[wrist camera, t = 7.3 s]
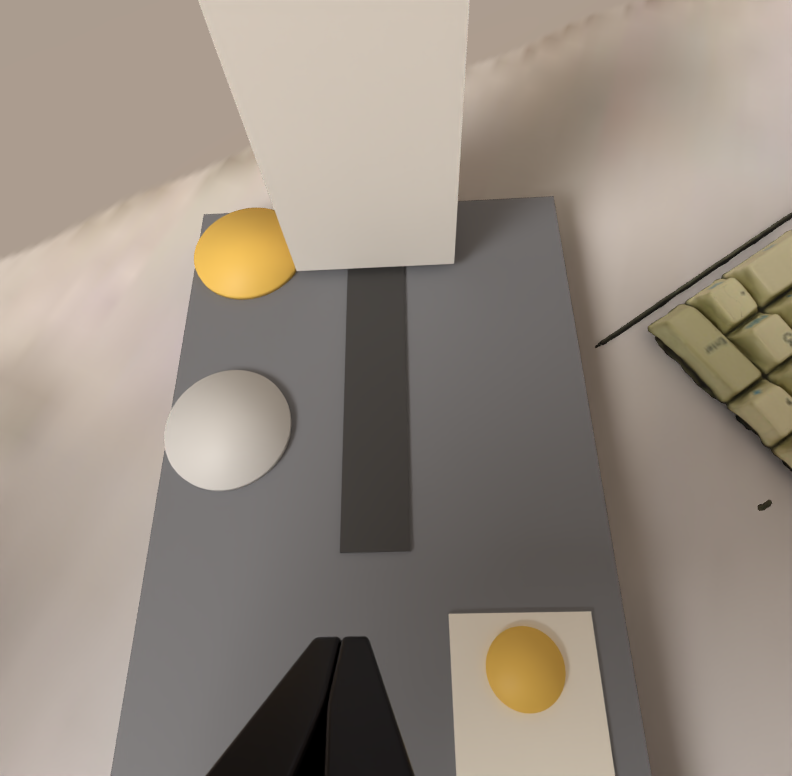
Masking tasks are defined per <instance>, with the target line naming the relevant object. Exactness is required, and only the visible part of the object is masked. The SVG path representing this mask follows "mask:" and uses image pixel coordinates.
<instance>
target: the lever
mask: <svg viewBox="0 0 792 776" xmlns="http://www.w3.org/2000/svg"><path fill="white" fill-rule="evenodd" d="M198 2H199V4H200V7H201V10H202V12H203V15H204V18H205V21H206V23H207V26H208V29H209V32H210V34H211V37H212V40H213V43H214V45H215V48H216V51H217V53H218V56H219V59H220V62H221V65H222V67H223V70H224V73H225V76H226V78H227V81H228V84H229V87H230V89H231V92H232V95H233V98H234V100H235V103H236V106H237V108H238V111H239V114H240V117H241V120H242V122H243V125H244V128H245V131H246V133H247V136H248V139H249V142H250V144H251V147H252V150H253V153H254V155H255V158H256V161H257V164H258V166H259V169H260V172H261V175H262V177H263V180H264V183H265V186H266V188H267V191H268V194H269V197H270V199H271V202H272V205H273V207H274V210H275V213H276V216H277V218H278V221H279V224H280V227H281V229H282V232H283V235H284V238H285V240H286V243H287V246H288V249H289V251H290V254H291V257H292V260H293V262H294V265H295V268H296V271H310V270H331V269H353V268H374V267H396V266H417V265H439V264H454V257H455V239H456V222H457V205H458V188H459V171H460V154H461V137H462V120H463V103H464V85H465V68H466V51H467V33H468V17H469V0H198Z"/></svg>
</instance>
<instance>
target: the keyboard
mask: <svg viewBox="0 0 792 776" xmlns="http://www.w3.org/2000/svg"><path fill="white" fill-rule="evenodd" d="M791 218H792V213H790V214H788V215H787V216H785V217H783V218H782V219H781V220H779V221H777V222H776V223H775V224H773V225H772V226H771V227H769V228H767V229H766V230H764V231H762V232H761V233H760V234H758V235H757V236H755V237H754V238H752V239H751V240H749V241H748V242H746V243H745V244H744V245H742V246H741V247H739V248H737V249H736V250H734V251H733V252H732V253H730V254H729V255H727V256H726V257H724V258H723V259H721V260H720V261H718V262H717V263H715V264H714V265H712V266H711V267H709V268H708V269H706V270H705V271H704V272H702V273H701V274H699V275H698V276H696V277H695V278H693V279H692V280H691V281H689V282H687V283H686V284H684V285H683V286H681V287H680V288H678V289H677V290H676V291H674V292H673V293H671V294H670V295H668V296H666V297H665V298H664V299H662V300H660V301H659V302H658V303H656V304H655V305H653V306H652V307H651V308H649V309H648V310H646V311H645V312H643V313H642V314H640V315H639V316H637V317H636V318H635V319H633V320H632V321H630V322H629V323H627V324H626V325H624V326H623V327H621V328H620V329H619V330H617V331H616V332H614V333H613V334H611V335H610V336H608V337H607V338H606V339H604V340H602V341H601V342H600V343H598V345H599V346H600V345H601V344H602V345H604V344H606V343H607V342H608V341H610V340H612V339H613V338H615V337H617V336H618V335H620V334H621V333H623V332H624V331H626V330H627V329H629V328H630V327H632V326H633V325H634V324H636V323H637V322H639V321H640V320H642V319H643V318H645V317H646V316H648V315H649V314H651V313H652V312H654V311H655V310H657V309H658V308H660V307H662V306H663V305H665V304H666V303H667V302H668V301H669V300H671V299H672V298H673V297H675V296H676V295H678V294H679V293H681V292H683V291H684V290H686V289H688V288H689V287H691V286H692V285H694V284H695V283H696V282H698V281H699V280H701V279H702V278H703V277H705V276H707V275H708V274H709V273H711V272H712V271H714V270H715V269H717V268H718V267H720V266H721V265H723V264H725V263H727V262H728V261H729V260H730V259H732V258H733V257H734V256H736V255H737V254H739V253H740V252H741V251H743V250H745V249H746V248H748V247H750V246H751V245H753V244H755V243H756V242H758V241H759V240H760V239H761V238H763V237H765V236H766V235H768V234H769V233H770V232H772V231H773V230H774V229H776V228H777V227H779V226H781V225H782V224H783V223H785V222H786V221H788V220H790V219H791ZM648 331H649V332H650V333H652V334H653V335H655V340H656V342H657V343H658V345H659V346H660V347H661V348H662V349H663V350H664V351H665V353H666V354H667V355H669V356H670V357H671V358H672V359H674V360H676V361H677V362H678V363H679V364H680V365H681V367H682V368H683V369H684V371H685V372H686V373H687V374H688V375H689V376H690V377H691V378H692V379H693V380H694V381H695V383H696V384H697V385H698V386H699V387H701V388H702V389H703V390H705V391H706V392H707V393H708V394H709V395H710V396H711V397H712V398H714V399H717V400H718V401H720V402H721V403H726V404H727V408H728V409H729V410H730V411H732V412H733V413H735V414H736V419H737V421H739V422H740V423H742V424H743V425H744V426H745V428H746V429H748V430H752V431H753V432H754V433H755V434H756V435H758V436H759V437H760V439H761V442H762V444H763V445H764V446H765V447H767V448H769V449H770V450H771V451H772V452H773V454H774V455H775V456H777V457H779V458H780V459H782V462H783V463H784V465H785V466H787V467H788V468H789V469H790V470H791V471H792V230H790V231H787V232H785V233H784V234H783V235H782V236H780V237H779V238H778V239H776V240H775V241H773V242H772V243H770V244H769V245H767V246H766V247H765V248H763V249H762V250H760V251H759V252H757V253H756V254H754V255H752V256H751V257H750V258H749V259H747V260H745V261H744V262H742V263H741V264H740V265H738V266H737V267H735V268H733V269H732V270H731V271H729V272H727V273H725V274H723V275H722V277H721V279H717V280H715V281H714V282H713V283H712V284H711V285H710V286H708V287H707V288H705V289H703V290H702V291H700V292H699V293H698V294H696V295H695V296H694V297H692V298H690V299H688V300H687V301H686V302H685V304H681V305H678V306H676V307H675V308H674V309H672V310H671V311H670V312H669V313H668V314H667V315H666V316H664V317H663V318H660V319H659V320H657V321H655V322H654V323H652V324H651V325H649V326H648ZM598 345H596V347H595V348H597V347H598ZM771 504H772V501H771V500H768V501H766V502H765V503H763V504H760V505H758V510H759V511H762V510H765V509H766V508H768V507H770V506H771Z"/></svg>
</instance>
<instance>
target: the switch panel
mask: <svg viewBox="0 0 792 776" xmlns="http://www.w3.org/2000/svg"><path fill="white" fill-rule="evenodd" d="M194 264H195V271H194V277H193V283H192V289H191V295H190V301H189V307H188V313H187V319H186V325H185V331H184V337H183V343H182V349H181V355H180V361H179V367H178V373H177V379H176V385H175V391H174V397H173V403H172V409H171V412H170V414H169V416H168V419H167V422H166V426H165V432H164V446H165V451H164V457H163V463H162V469H161V475H160V481H159V487H158V493H157V499H156V505H155V511H154V517H153V523H152V529H151V535H150V541H149V547H148V554H147V560H146V566H145V572H144V578H143V584H142V590H141V596H140V602H139V608H138V614H137V620H136V626H135V632H134V638H133V644H132V650H131V656H130V662H129V668H128V674H127V680H126V686H125V692H124V698H123V704H122V710H121V716H120V722H119V728H118V734H117V740H116V746H115V752H114V758H113V764H112V770H111V776H205V775H206V774H207V773H208V772H209V770H210V769H211V768H212V767H213V765H214V764H215V763H216V762H217V760H218V759H219V758H220V756H221V755H222V754H223V753H224V751H225V750H226V749H227V748H228V746H229V745H230V744H231V743H232V741H233V740H234V739H235V737H236V736H237V735H238V734H239V732H240V731H241V730H242V729H243V727H244V726H245V725H246V724H247V722H248V721H249V720H250V719H251V717H252V716H253V715H254V713H255V712H256V711H257V710H258V708H259V707H260V706H261V705H262V703H263V702H264V701H265V700H266V698H267V697H268V696H269V695H270V693H271V692H272V691H273V689H274V688H275V687H276V686H277V684H278V683H279V682H280V681H281V679H282V678H283V677H284V676H285V674H286V673H287V672H288V671H289V669H290V668H291V667H292V665H293V664H294V663H295V662H296V660H297V659H298V658H299V657H300V655H301V654H302V653H303V652H304V650H305V649H306V648H307V646H308V645H309V644H310V643H311V641H312V640H313V639H315V638H316V637H339V638H340V639H341V640H342V639H343V638H344V637H347V636H366V637H367V638H368V639H369V641H370V643H371V646H372V649H373V652H374V655H375V658H376V661H377V664H378V667H379V670H380V673H381V676H382V679H383V682H384V685H385V688H386V691H387V694H388V697H389V700H390V703H391V706H392V709H393V712H394V715H395V718H396V721H397V724H398V727H399V730H400V732H401V735H402V738H403V741H404V744H405V747H406V750H407V753H408V756H409V759H410V762H411V765H412V768H413V771H414V774H415V776H652V775H651V769H650V763H649V758H648V752H647V746H646V740H645V734H644V728H643V722H642V716H641V710H640V704H639V699H638V693H637V687H636V681H635V675H634V669H633V663H632V657H631V651H630V645H629V640H628V634H627V628H626V622H625V616H624V610H623V604H622V598H621V592H620V587H619V581H618V575H617V569H616V563H615V557H614V551H613V545H612V539H611V533H610V528H609V522H608V516H607V510H606V504H605V498H604V492H603V486H602V480H601V474H600V469H599V463H598V457H597V451H596V445H595V439H594V433H593V427H592V421H591V416H590V410H589V404H588V398H587V392H586V386H585V380H584V374H583V368H582V362H581V357H580V351H579V345H578V339H577V333H576V327H575V321H574V315H573V309H572V303H571V298H570V292H569V286H568V280H567V274H566V268H565V262H564V256H563V250H562V245H561V239H560V233H559V227H558V221H557V215H556V209H555V203H554V197H553V196H551V197H532V198H512V199H493V200H474V201H458V205H457V222H456V239H455V257H454V264H439V265H417V266H396V267H374V268H353V269H331V270H310V271H296V268H295V265H294V262H293V260H292V257H291V254H290V251H289V249H288V246H287V243H286V240H285V238H284V235H283V232H282V229H281V227H280V224H279V221H278V218H277V216H276V213H275V210H271V209H267V208H246V209H242V210H238V211H234V212H232V213H224V214H204V217H203V223H202V229H201V235H200V239H199V241H198V243H197V246H196V249H195V253H194Z"/></svg>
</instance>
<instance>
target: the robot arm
mask: <svg viewBox="0 0 792 776" xmlns="http://www.w3.org/2000/svg"><path fill="white" fill-rule="evenodd" d="M205 776H415V774H414V771H413V768H412V765H411V762H410V759H409V756H408V753H407V750H406V747H405V744H404V741H403V738H402V735H401V732H400V730H399V727H398V724H397V721H396V718H395V715H394V712H393V709H392V706H391V703H390V700H389V697H388V694H387V691H386V688H385V685H384V682H383V679H382V676H381V673H380V670H379V667H378V664H377V661H376V658H375V655H374V652H373V649H372V646H371V643H370V641H369V639H368V638H367V637H366V636H347V637H344V638H343V639H342V640H341V639H340V638H339V637H316V638H315V639H313V640H312V641H311V643H310V644H309V645H308V646H307V648H306V649H305V650H304V652H303V653H302V654H301V655H300V657H299V658H298V659H297V660H296V662H295V663H294V664H293V665H292V667H291V668H290V669H289V671H288V672H287V673H286V674H285V676H284V677H283V678H282V679H281V681H280V682H279V683H278V684H277V686H276V687H275V688H274V689H273V691H272V692H271V693H270V695H269V696H268V697H267V698H266V700H265V701H264V702H263V703H262V705H261V706H260V707H259V708H258V710H257V711H256V712H255V713H254V715H253V716H252V717H251V719H250V720H249V721H248V722H247V724H246V725H245V726H244V727H243V729H242V730H241V731H240V732H239V734H238V735H237V736H236V737H235V739H234V740H233V741H232V743H231V744H230V745H229V746H228V748H227V749H226V750H225V751H224V753H223V754H222V755H221V756H220V758H219V759H218V760H217V762H216V763H215V764H214V765H213V767H212V768H211V769H210V770H209V772H208V773H207V774H206V775H205Z"/></svg>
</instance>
